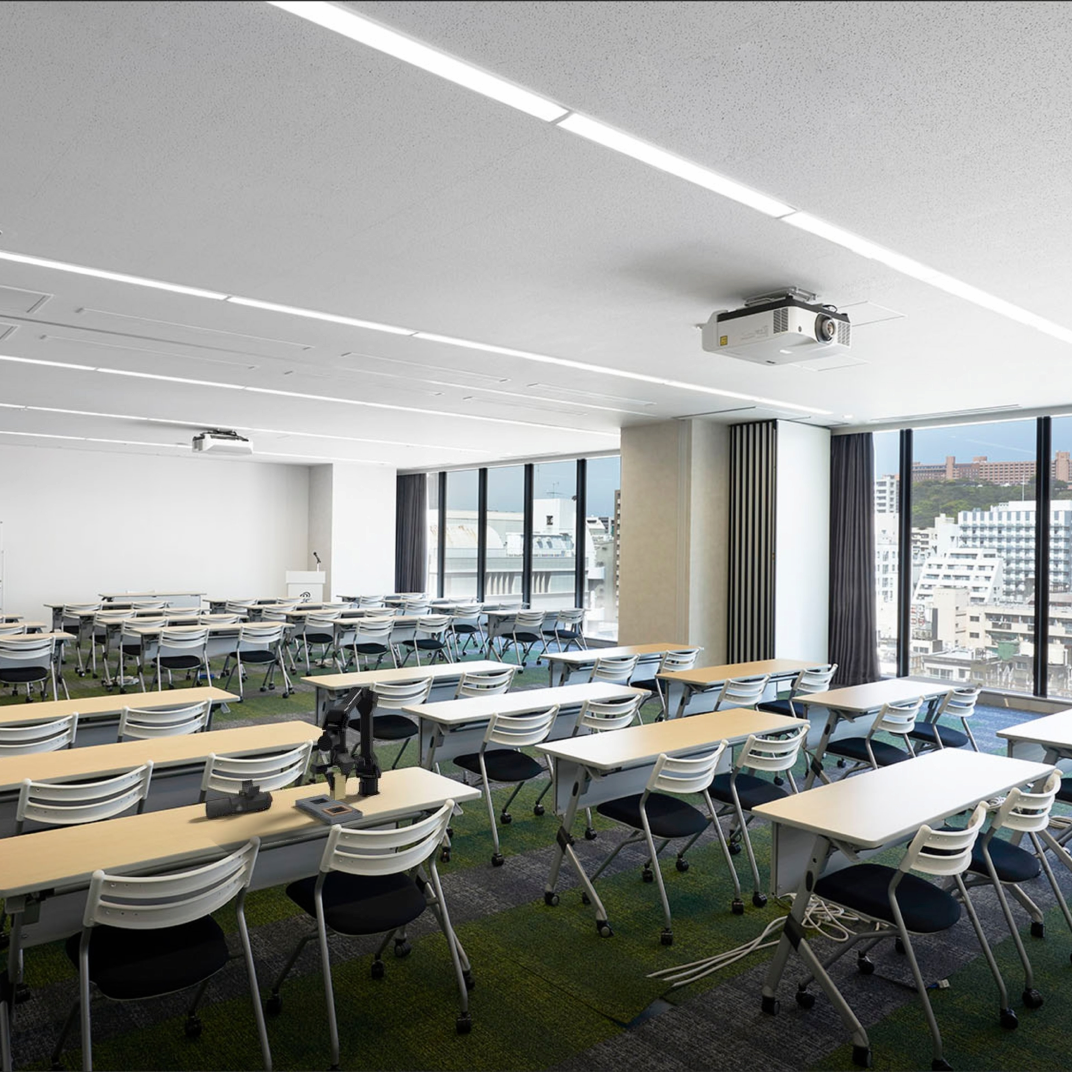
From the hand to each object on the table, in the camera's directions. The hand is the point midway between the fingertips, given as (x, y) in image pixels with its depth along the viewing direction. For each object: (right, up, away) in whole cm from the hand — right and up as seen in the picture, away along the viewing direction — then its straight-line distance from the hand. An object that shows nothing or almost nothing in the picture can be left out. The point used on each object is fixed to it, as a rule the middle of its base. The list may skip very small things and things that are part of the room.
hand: (337, 789), depth 297 cm
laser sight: (-36, -10, +4) cm, 37 cm away
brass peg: (0, -3, 0) cm, 3 cm away
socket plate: (-5, -10, +5) cm, 12 cm away
